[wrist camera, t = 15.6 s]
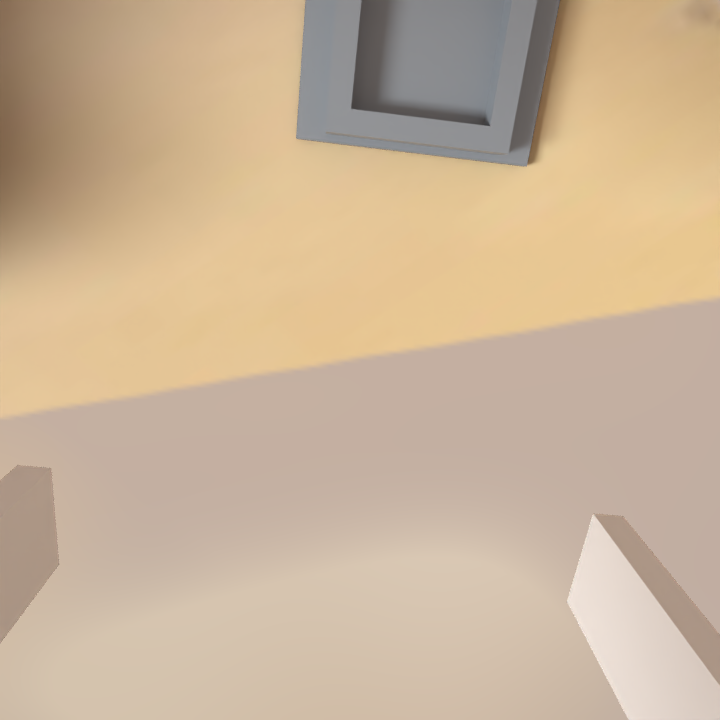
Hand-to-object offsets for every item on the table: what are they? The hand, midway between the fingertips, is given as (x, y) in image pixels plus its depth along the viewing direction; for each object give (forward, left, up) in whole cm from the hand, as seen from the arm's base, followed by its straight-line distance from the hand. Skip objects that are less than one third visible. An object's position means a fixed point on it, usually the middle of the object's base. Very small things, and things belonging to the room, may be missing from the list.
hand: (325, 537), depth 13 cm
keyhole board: (+4, +20, -29) cm, 35 cm away
